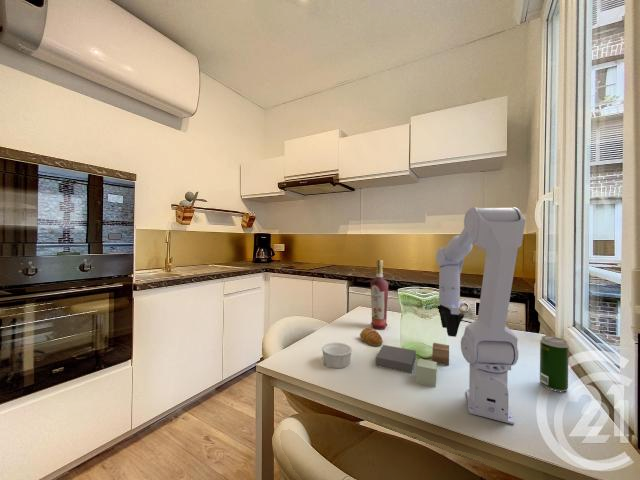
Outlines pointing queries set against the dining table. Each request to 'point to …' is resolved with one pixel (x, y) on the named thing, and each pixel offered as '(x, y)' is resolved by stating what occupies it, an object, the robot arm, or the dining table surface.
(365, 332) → the pastry
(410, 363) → the charcoal slab
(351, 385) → the dining table surface
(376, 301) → the liquor
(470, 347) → the robot arm
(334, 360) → the ramekin
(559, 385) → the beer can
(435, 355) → the walnut cube
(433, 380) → the sage green cube
